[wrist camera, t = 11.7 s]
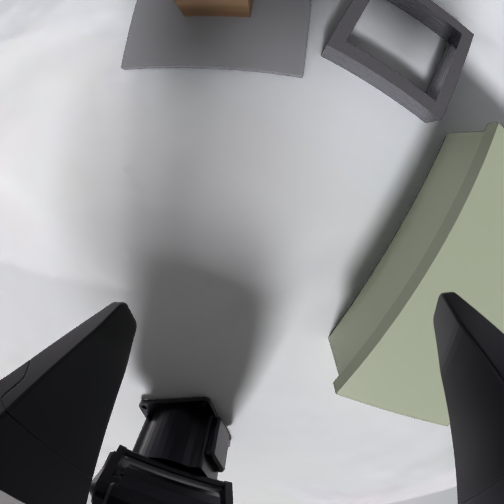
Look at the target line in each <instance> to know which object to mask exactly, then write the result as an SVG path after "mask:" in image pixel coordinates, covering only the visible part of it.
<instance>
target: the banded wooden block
mask: <svg viewBox="0 0 504 504" xmlns="http://www.w3.org/2000/svg"><path fill="white" fill-rule="evenodd" d="M174 2H175V3H176V5H177V6H178V8H179V9H180V11H181V12H182V14H183V15H184V17H191V16H226V17H247V18H250V17H251V11H252V4H253V0H174Z"/></svg>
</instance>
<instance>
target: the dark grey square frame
mask: <svg viewBox="0 0 504 504" xmlns="http://www.w3.org/2000/svg"><path fill="white" fill-rule="evenodd" d="M388 1H390V2H391V3H393V4H395V5H396V6H398V7H399V8H401V9H403V10H404V11H406V12H407V13H409V14H410V15H412V16H413V17H415V18H416V19H418V20H419V21H420V22H422V23H423V24H425V25H426V26H427V27H429V28H430V29H431V30H433V31H434V32H435V33H437V34H438V35H439V36H441V37H442V38H443V39H444V40H446V41H447V42H448V43H447V45H446V48H445V50H444V53H443V55H442V58H441V60H440V62H439V65H438V67H437V70H436V72H435V74H434V77H433V79H432V81H431V83H430V86H429V88H428V90H427V92H426V94H425V93H424V92H423V91H422V90H420V89H419V88H418V87H416V86H415V85H413V84H412V83H411V82H409V81H408V80H407V79H405V78H404V77H402V76H401V75H399V74H398V73H396V72H395V71H394V70H392V69H391V68H389V67H387V66H386V65H384V64H383V63H381V62H380V61H378V60H377V59H375V58H373V57H372V56H370V55H368V54H367V53H365V52H363V51H362V50H360V49H358V48H357V47H355V46H353V45H351V44H350V43H348V42H346V41H347V39H348V37H349V35H350V33H351V32H352V30H353V28H354V26H355V25H356V23H357V21H358V19H359V18H360V16H361V14H362V12H363V11H364V9H365V7H366V5H367V4H368V2H369V0H353V1H352V3H351V4H350V6H349V8H348V9H347V11H346V13H345V14H344V16H343V18H342V19H341V21H340V23H339V24H338V26H337V28H336V30H335V31H334V33H333V35H332V36H331V38H330V40H329V42H328V43H327V45H326V47H325V49H324V51H323V53H322V55H321V56H322V57H324V58H326V59H328V60H330V61H332V62H333V63H335V64H337V65H339V66H341V67H343V68H344V69H346V70H348V71H349V72H351V73H353V74H355V75H356V76H358V77H360V78H361V79H363V80H365V81H366V82H368V83H369V84H371V85H373V86H374V87H376V88H377V89H379V90H380V91H382V92H383V93H385V94H386V95H388V96H389V97H391V98H392V99H394V100H395V101H397V102H398V103H399V104H401V105H402V106H404V107H405V108H407V109H408V110H409V111H411V112H412V113H413V114H415V115H416V116H417V117H419V118H420V119H421V120H423V121H424V122H425V123H427V122H433V121H439V120H441V119H442V117H443V115H444V112H445V110H446V108H447V105H448V103H449V100H450V98H451V96H452V93H453V91H454V88H455V86H456V83H457V81H458V78H459V75H460V73H461V70H462V67H463V65H464V62H465V59H466V56H467V53H468V51H469V48H470V45H471V42H472V39H473V36H474V34H473V33H471V32H470V31H469V30H468V29H467V28H466V27H464V26H463V25H462V24H461V23H460V22H458V21H457V20H456V19H455V18H453V17H452V16H451V15H450V14H448V13H447V12H446V11H444V10H443V9H442V8H441V7H439V6H438V5H436V4H435V3H434V2H432V1H431V0H388Z"/></svg>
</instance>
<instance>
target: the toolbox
mask: <svg viewBox="0 0 504 504" xmlns="http://www.w3.org/2000/svg"><path fill="white" fill-rule="evenodd" d="M445 292H455V293H456V294H458V295H459V296H460V297H461V298H463V299H464V300H465V301H466V302H467V303H469V304H470V305H471V306H472V307H474V308H475V309H476V310H477V311H478V312H479V313H481V314H482V315H483V316H484V317H485V318H487V319H488V320H489V321H490V322H491V323H492V324H494V325H495V326H496V327H497V328H498V329H499V330H500V331H502V332H503V333H504V128H503V126H502V125H501V124H500V123H488V124H487V126H486V129H485V131H480V132H460V133H447V136H446V138H445V140H444V142H443V144H442V147H441V149H440V151H439V153H438V155H437V157H436V159H435V162H434V164H433V166H432V168H431V170H430V172H429V174H428V176H427V178H426V180H425V182H424V184H423V186H422V188H421V190H420V191H419V193H418V195H417V197H416V199H415V201H414V203H413V205H412V207H411V208H410V210H409V212H408V214H407V216H406V217H405V219H404V221H403V223H402V225H401V226H400V228H399V230H398V232H397V233H396V235H395V237H394V238H393V240H392V242H391V244H390V245H389V247H388V249H387V250H386V252H385V254H384V255H383V257H382V259H381V260H380V262H379V263H378V265H377V267H376V268H375V270H374V271H373V273H372V275H371V276H370V278H369V279H368V281H367V282H366V284H365V285H364V287H363V289H362V290H361V292H360V293H359V295H358V296H357V298H356V299H355V301H354V302H353V304H352V305H351V307H350V308H349V309H348V311H347V312H346V314H345V315H344V317H343V318H342V320H341V321H340V322H339V324H338V325H337V327H336V328H335V329H334V331H333V332H332V334H331V335H330V336H329V338H328V339H329V342H330V346H331V349H332V353H333V356H334V360H335V363H336V367H337V370H338V374H339V376H338V377H337V379H336V380H335V381H334V382H333V384H334V388H335V392H336V394H337V395H340V396H343V397H346V398H349V399H352V400H355V401H358V402H361V403H364V404H368V405H371V406H374V407H377V408H380V409H384V410H387V411H391V412H394V413H398V414H401V415H405V416H408V417H412V418H416V419H420V420H424V421H428V422H432V423H436V424H440V425H444V426H448V425H449V424H450V420H449V414H448V409H447V403H446V398H445V393H444V388H443V383H442V379H441V373H440V367H439V359H438V351H437V344H436V337H435V331H434V324H433V317H434V312H435V309H436V305H437V301H438V297H439V295H440V294H441V293H445Z"/></svg>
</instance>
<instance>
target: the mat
mask: <svg viewBox="0 0 504 504" xmlns="http://www.w3.org/2000/svg"><path fill="white" fill-rule="evenodd" d="M310 8H311V0H253V4H252V11H251V17H250V18H247V17H226V16H191V17H184V15H183V14H182V12H181V11H180V9H179V8H178V6H177V5H176V3H175V2H174V0H137V2H136V6H135V10H134V13H133V17H132V21H131V25H130V29H129V33H128V37H127V42H126V46H125V51H124V56H123V61H122V66H121V68H122V69H124V70H128V69H145V68H213V69H230V70H243V71H254V72H263V73H272V74H280V75H287V76H294V77H300V78H302V77H303V73H304V64H305V55H306V46H307V37H308V28H309V18H310Z"/></svg>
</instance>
